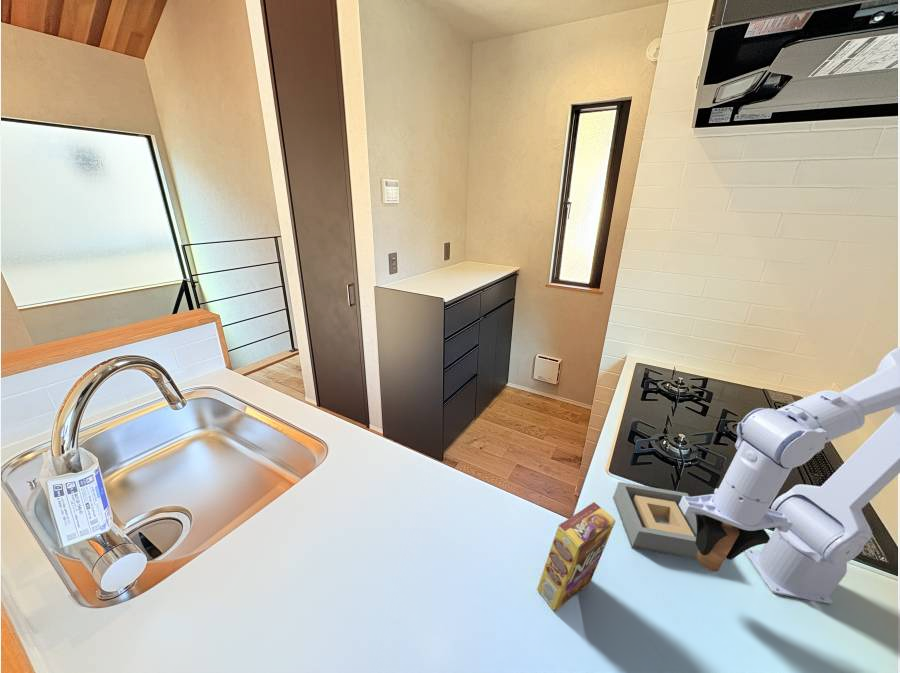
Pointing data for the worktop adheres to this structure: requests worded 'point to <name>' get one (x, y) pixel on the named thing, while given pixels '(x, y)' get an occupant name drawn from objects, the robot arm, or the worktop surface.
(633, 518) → the tray
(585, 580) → the candy box
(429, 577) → the worktop surface
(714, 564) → the peg
